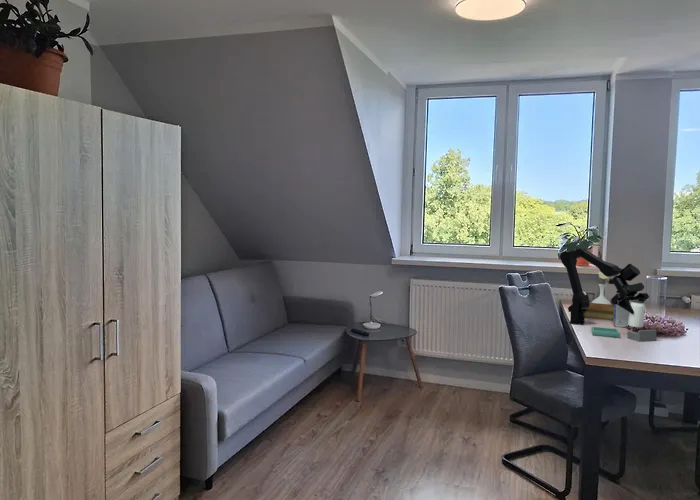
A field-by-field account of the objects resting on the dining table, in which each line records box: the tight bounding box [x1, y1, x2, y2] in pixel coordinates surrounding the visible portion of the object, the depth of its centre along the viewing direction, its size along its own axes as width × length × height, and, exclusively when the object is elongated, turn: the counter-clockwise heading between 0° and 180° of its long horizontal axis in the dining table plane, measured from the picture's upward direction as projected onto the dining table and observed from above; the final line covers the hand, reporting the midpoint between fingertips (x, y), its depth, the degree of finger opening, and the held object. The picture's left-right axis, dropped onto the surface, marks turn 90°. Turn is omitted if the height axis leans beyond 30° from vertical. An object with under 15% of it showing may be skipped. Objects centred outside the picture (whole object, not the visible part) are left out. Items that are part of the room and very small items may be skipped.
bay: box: [626, 329, 657, 343], centre depth 255 cm, size 7×10×5 cm
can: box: [628, 300, 646, 329], centre depth 257 cm, size 6×6×12 cm
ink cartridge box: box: [612, 304, 629, 328], centre depth 282 cm, size 10×6×14 cm, turn 78°
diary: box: [584, 302, 614, 321], centre depth 310 cm, size 23×19×6 cm
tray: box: [591, 326, 620, 339], centre depth 263 cm, size 12×12×2 cm
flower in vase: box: [591, 270, 612, 305], centre depth 339 cm, size 13×11×25 cm
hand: (638, 313), depth 256 cm, fingers closed on can, 6 cm apart
